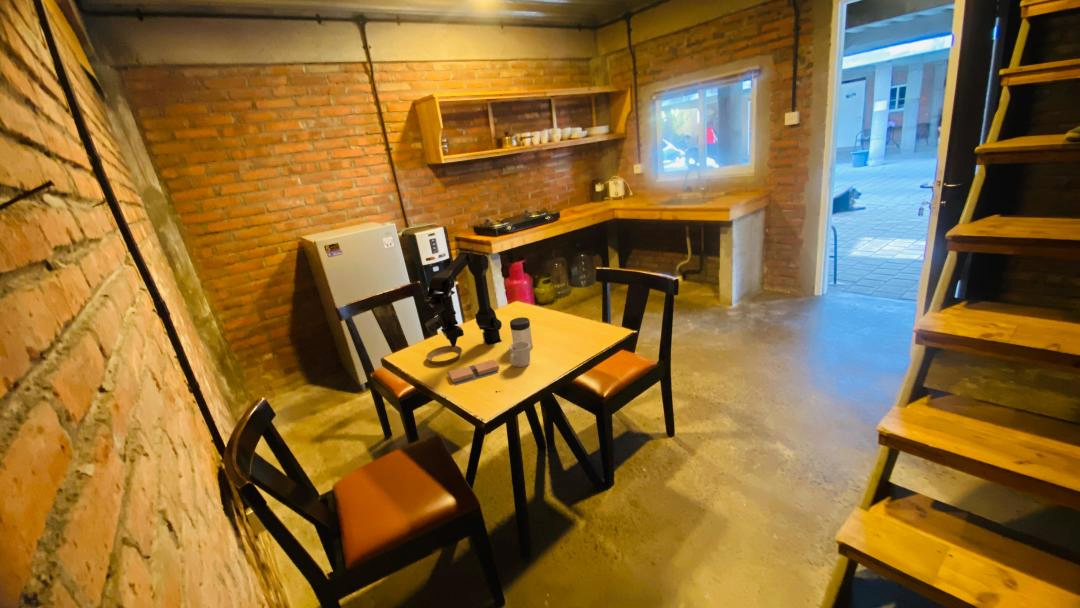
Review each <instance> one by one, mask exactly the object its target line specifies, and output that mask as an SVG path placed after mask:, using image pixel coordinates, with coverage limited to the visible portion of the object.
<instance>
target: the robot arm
mask: <svg viewBox="0 0 1080 608" xmlns="http://www.w3.org/2000/svg"><path fill="white" fill-rule="evenodd" d="M466 267H467V268H468V271H469V273H471V275H472V276H473V279H474V280H473V281H474V285H475V291H476V297H477V298H476V299H477V303H478V310H477V312H476V313H475V315H474V316H475V323H476V325H477V326H478V328H479V330H480V331H481V330H482V331H483V332H482V339H483V342H484V343H485V344H486V345H487V346H490V345H494V344H497V343H501V342H502V339H501V335H500V330H501V329H502V327H503V326H502V324H503V323H502V321H501V320H500V319H498V318H497V314H496V312H495V310H494V309H493V308H492V307H491V301H490V293H489V289H488V288H489V287H488V281H487V272H488V270H489V257H488V256H487V255H486V254H484V253H474V252H472V251H459V252H458V254H457V256H456V258H455V259H453V261H451V263H449V265H448V266H447V267H446V268H445V269H444V270H443V271H441V272H438V273H437V274H435V275H433V276H432V277H431V278H430V280H429V281H430V282H429V286H428V290H427V293H426V298H427V299H425V300H423V305H422V306H421V310H420V313H421V314H422V316H423V317H424V318H425V319H426V320H427V321H426V322H425V323H424V325H425V327H426V329H427V331H428V332H429V333H430V334H434V333H435V332H436V331H438V330H439V329H440V330H441V332H442V334H443V335H444V337H445V339H446V340H448V341H449V343H450V346H452V347H455V346H457V342H458V338H460V337H464V330H463V329H462V327H461V326H459V325H458V322H459V321H458V320H457V317H456V314H457V312H456V310H455V305H454V301H453V296H452V295H454V294H455V293H456V292H455V291H454V290H452V289H453V288H454V286H455V284H456V283H455V281H456V280H455V279H457V277H458V276H459V275H460V274H461V272H462V271H463V270H465V268H466Z"/></svg>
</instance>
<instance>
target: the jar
mask: <svg viewBox="0 0 1080 608" xmlns="http://www.w3.org/2000/svg"><path fill="white" fill-rule="evenodd" d="M530 323H531V321H530V319H529V318H528V317H524V316H523V317H515V318H513V319H511V320H510V321H509V326H510V332H511V338H512V344H513V343H515V342H521V341H523V342H528V343H529V344H530V350H531V349H533V348H534V345H533V338H532V331H531V330H532V329H531V324H530Z"/></svg>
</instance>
